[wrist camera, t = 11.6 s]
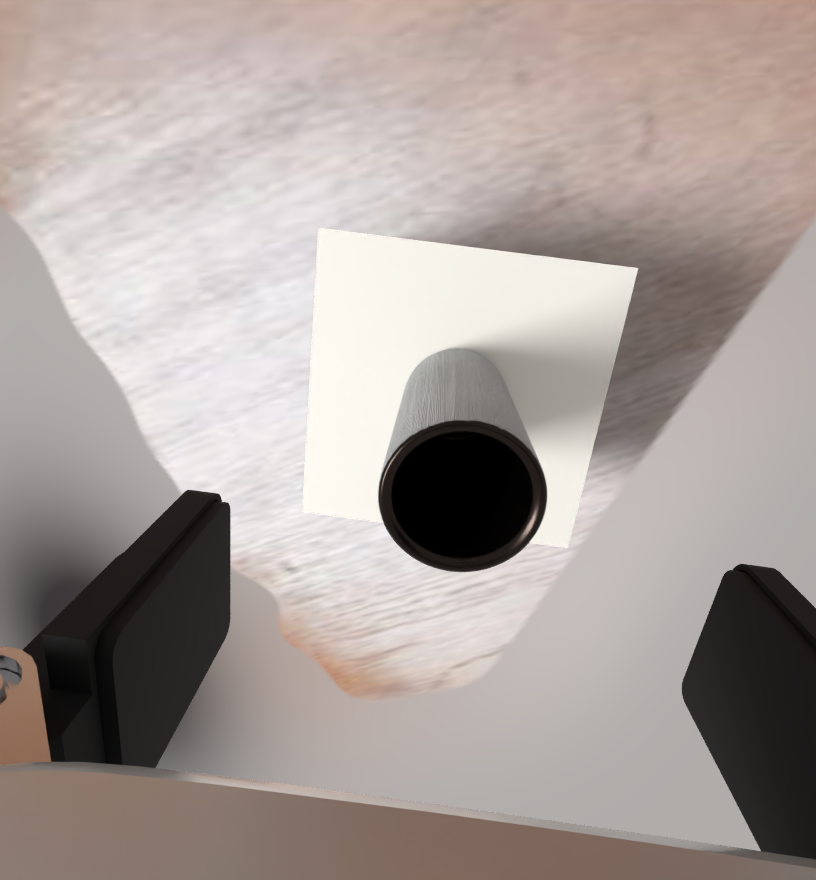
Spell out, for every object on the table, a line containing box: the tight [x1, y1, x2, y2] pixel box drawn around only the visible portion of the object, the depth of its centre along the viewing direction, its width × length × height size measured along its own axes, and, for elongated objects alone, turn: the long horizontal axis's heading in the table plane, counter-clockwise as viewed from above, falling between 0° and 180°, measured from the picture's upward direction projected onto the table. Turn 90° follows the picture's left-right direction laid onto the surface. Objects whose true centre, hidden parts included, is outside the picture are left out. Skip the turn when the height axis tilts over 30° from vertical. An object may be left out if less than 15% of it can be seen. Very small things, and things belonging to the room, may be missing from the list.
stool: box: [302, 228, 638, 548], centre depth 28 cm, size 13×13×9 cm
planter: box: [378, 349, 547, 572], centre depth 19 cm, size 4×4×10 cm
